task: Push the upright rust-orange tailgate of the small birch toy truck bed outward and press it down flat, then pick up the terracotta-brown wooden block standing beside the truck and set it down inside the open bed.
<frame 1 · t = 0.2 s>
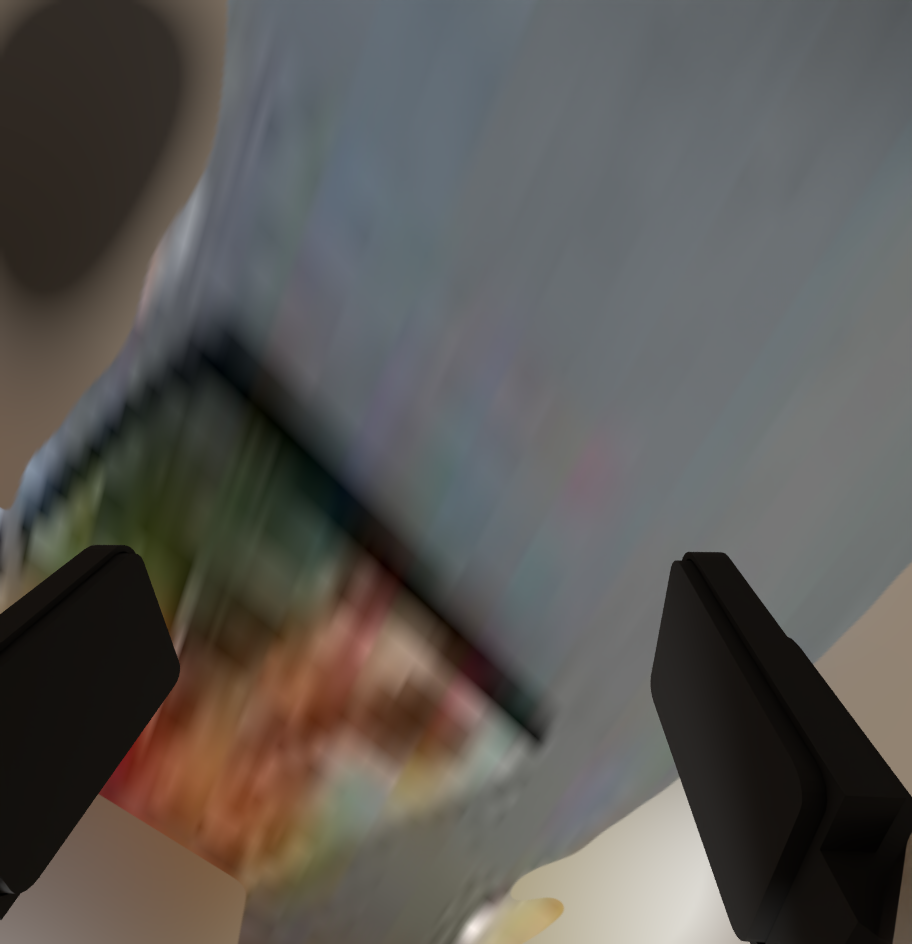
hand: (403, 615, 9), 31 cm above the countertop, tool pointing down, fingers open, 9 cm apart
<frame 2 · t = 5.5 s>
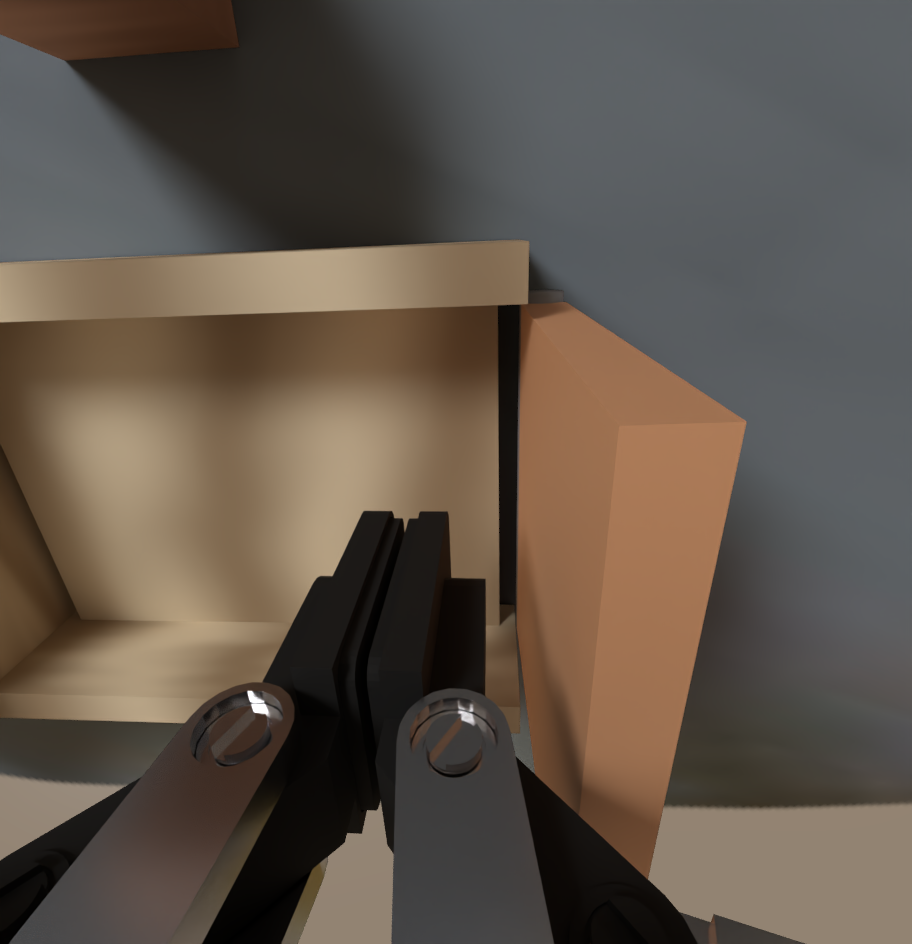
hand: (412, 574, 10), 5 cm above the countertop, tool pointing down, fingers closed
tailgate: (560, 571, 10), point 5 cm above the countertop, hinge at 2.7°, touching gripper
truck bed: (281, 470, 15), on the countertop
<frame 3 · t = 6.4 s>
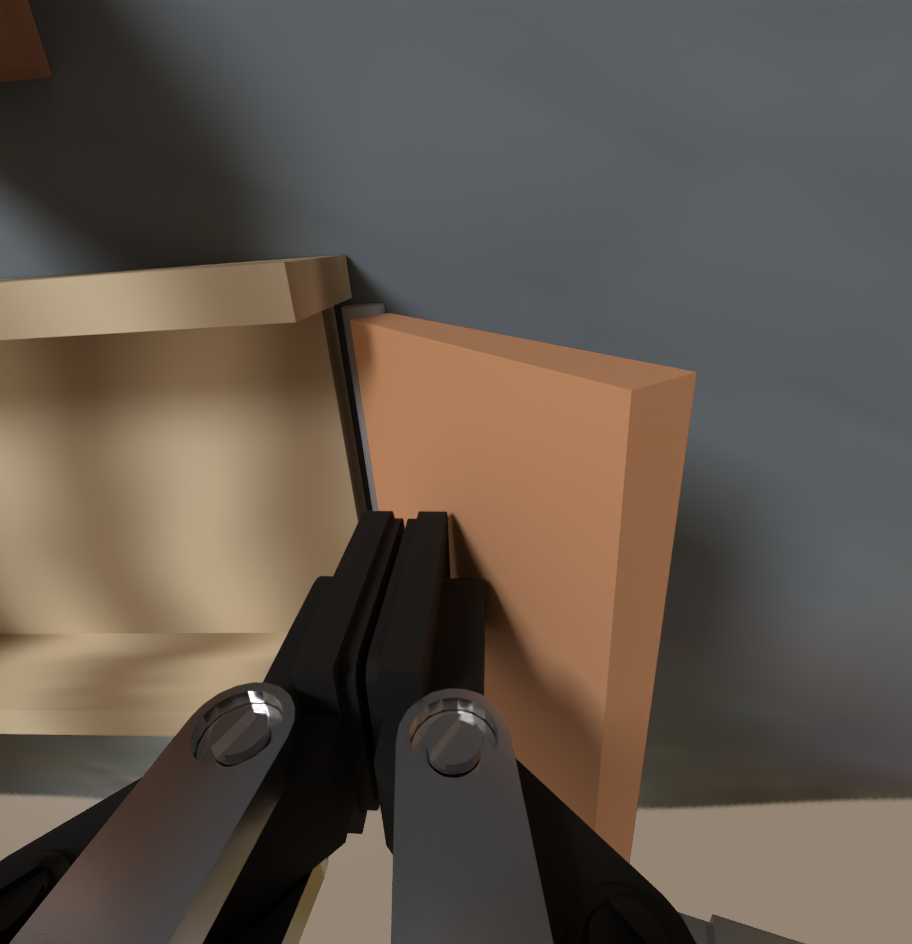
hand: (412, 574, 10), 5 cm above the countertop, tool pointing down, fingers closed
tailgate: (464, 558, 11), point 4 cm above the countertop, hinge at 34.9°, touching gripper
truck bed: (153, 483, 15), on the countertop
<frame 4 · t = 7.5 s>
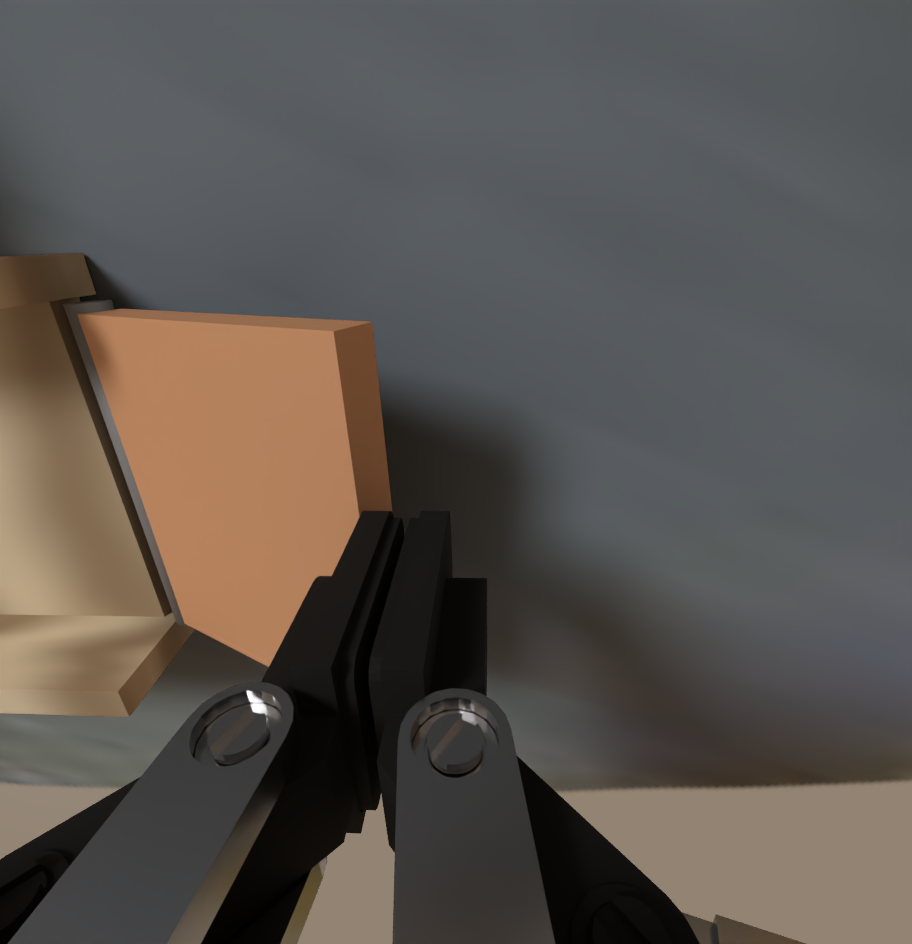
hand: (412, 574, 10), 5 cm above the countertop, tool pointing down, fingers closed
tailgate: (239, 510, 13), point 3 cm above the countertop, hinge at 64.1°
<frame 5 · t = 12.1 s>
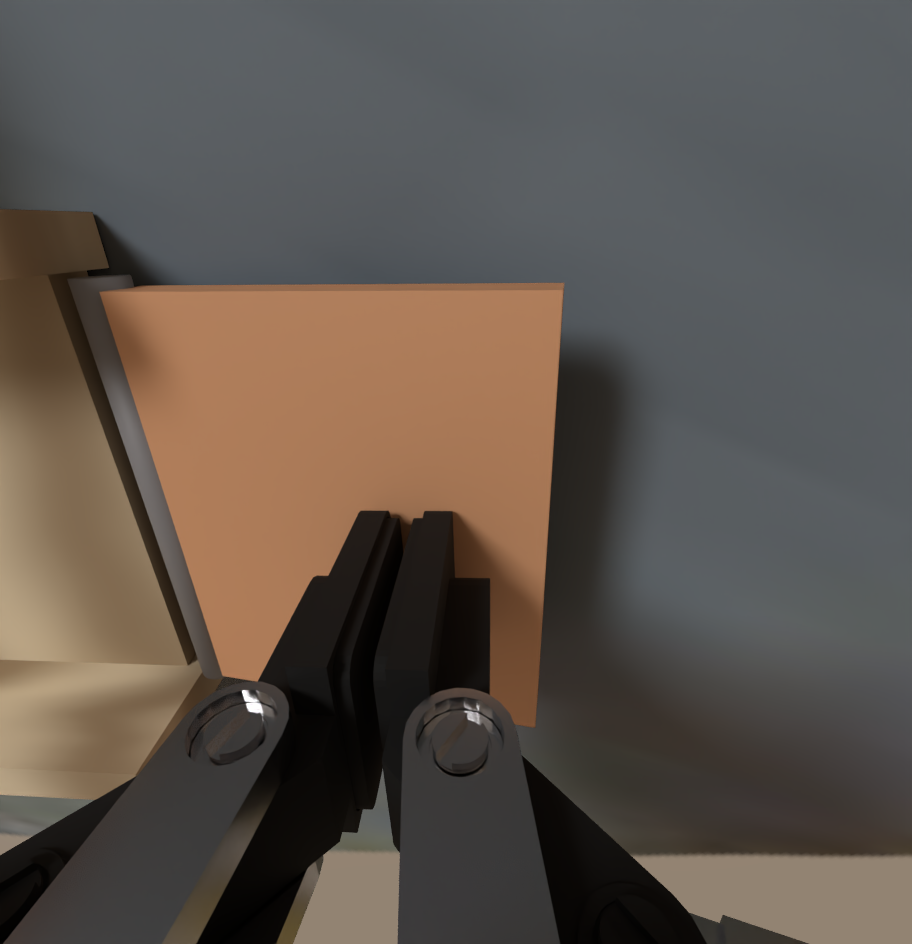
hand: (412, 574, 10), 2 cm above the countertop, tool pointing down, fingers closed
tailgate: (334, 522, 11), point 2 cm above the countertop, hinge at 81.8°, touching gripper
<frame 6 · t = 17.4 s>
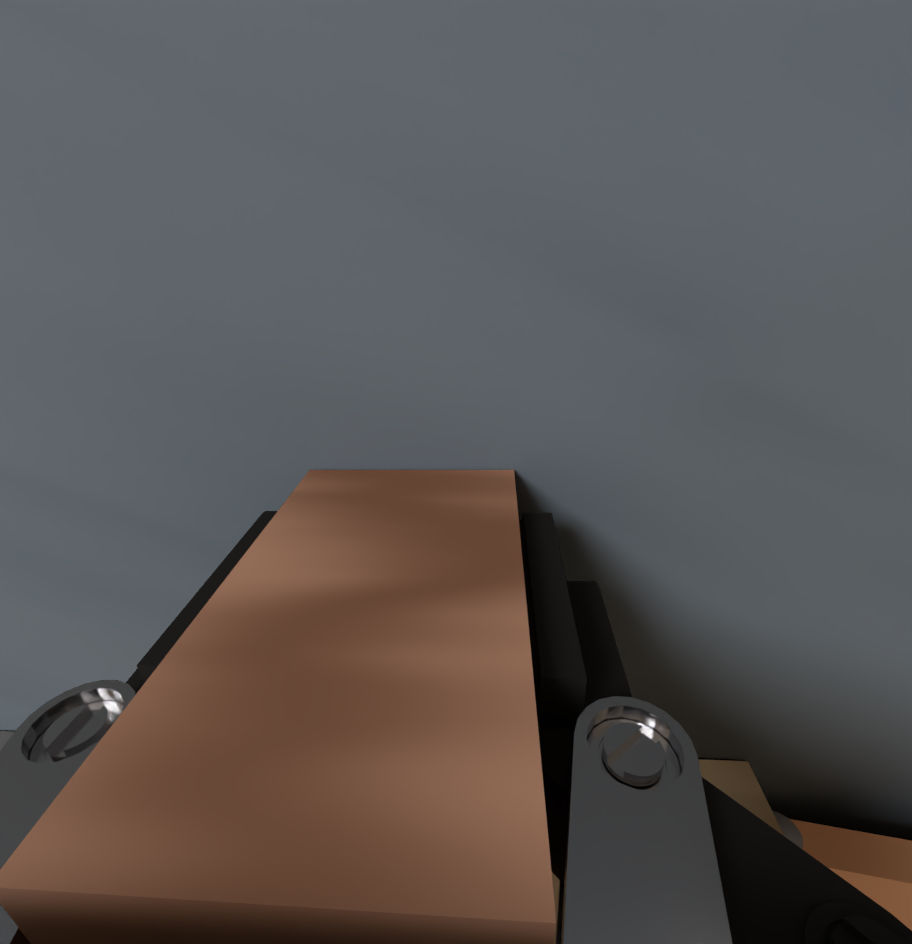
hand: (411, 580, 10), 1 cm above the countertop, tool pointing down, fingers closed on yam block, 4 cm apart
truck bed: (472, 879, 16), on the countertop
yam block: (416, 555, 11), on the countertop, touching gripper
when the fingers open (3 cm above the countertop, at t = 22.4 s): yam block drops 1 cm, resting on truck bed.
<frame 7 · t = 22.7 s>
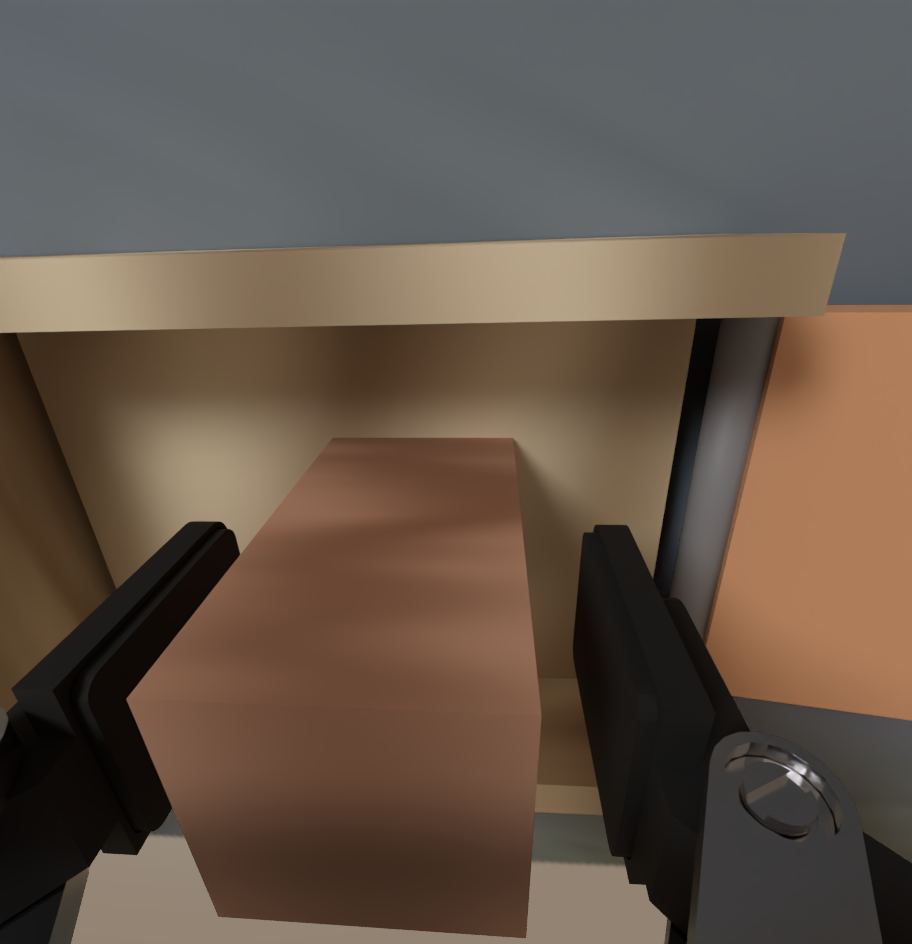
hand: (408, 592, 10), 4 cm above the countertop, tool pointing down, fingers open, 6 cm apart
tailgate: (906, 537, 11), point 2 cm above the countertop, hinge at 81.9°
truck bed: (391, 500, 13), on the countertop
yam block: (426, 516, 12), point 1 cm above the countertop, touching truck bed
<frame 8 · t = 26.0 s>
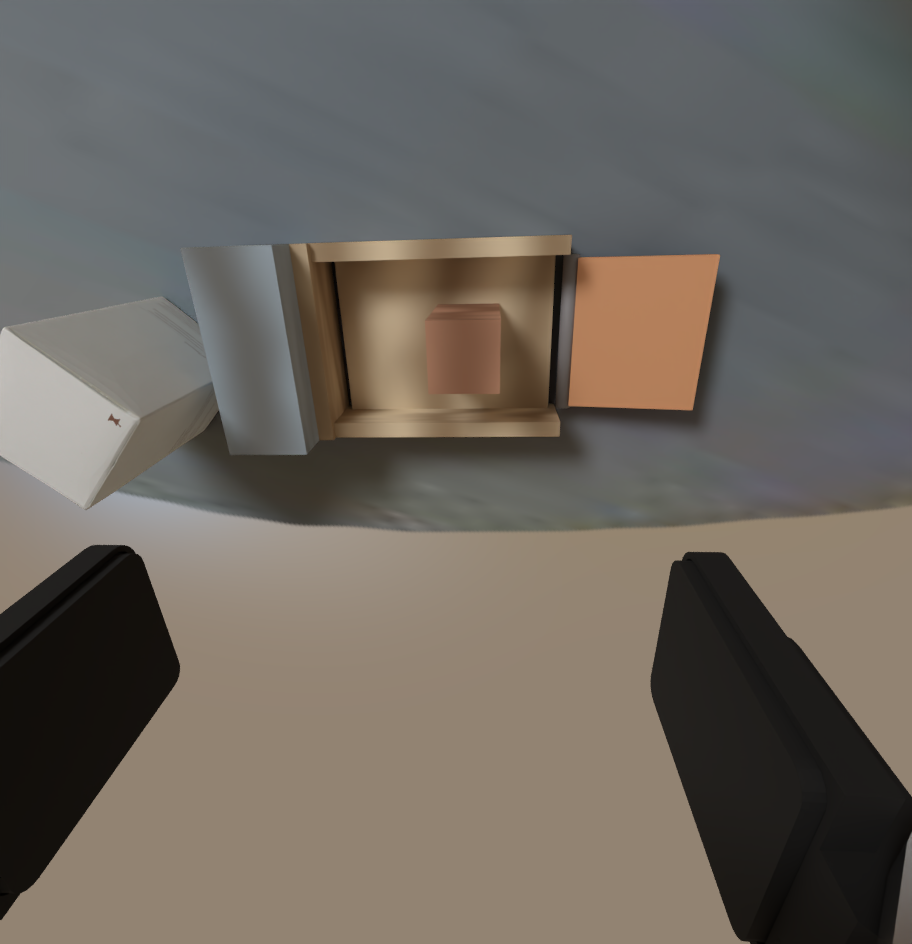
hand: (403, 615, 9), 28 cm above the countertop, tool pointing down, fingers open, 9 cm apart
tailgate: (629, 335, 32), point 2 cm above the countertop, hinge at 81.9°
supplement box: (185, 366, 37), on the countertop
truck bed: (454, 334, 35), on the countertop
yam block: (468, 335, 34), point 1 cm above the countertop, touching truck bed
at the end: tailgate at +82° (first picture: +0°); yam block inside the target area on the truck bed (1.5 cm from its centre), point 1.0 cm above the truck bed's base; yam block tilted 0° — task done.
